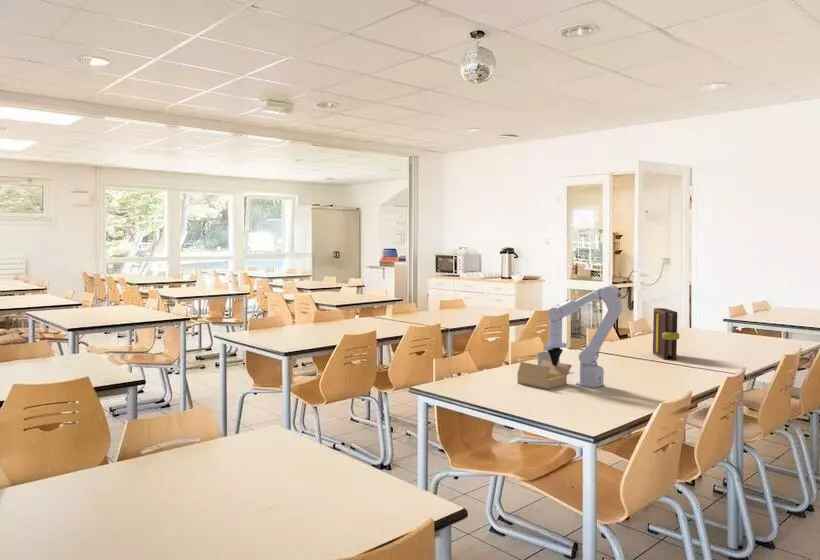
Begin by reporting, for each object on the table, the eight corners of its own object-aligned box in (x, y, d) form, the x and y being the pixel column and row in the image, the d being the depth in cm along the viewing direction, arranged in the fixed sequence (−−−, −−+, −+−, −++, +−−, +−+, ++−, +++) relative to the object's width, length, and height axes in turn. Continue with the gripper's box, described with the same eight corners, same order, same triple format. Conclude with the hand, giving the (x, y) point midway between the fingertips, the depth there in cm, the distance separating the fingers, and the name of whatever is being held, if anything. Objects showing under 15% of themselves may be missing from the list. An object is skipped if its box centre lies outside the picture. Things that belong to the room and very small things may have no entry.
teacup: (553, 372, 297) (553, 355, 297) (532, 369, 304) (532, 353, 303) (565, 367, 308) (566, 351, 308) (545, 365, 315) (545, 349, 314)
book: (649, 353, 348) (650, 308, 347) (665, 353, 348) (666, 308, 346) (664, 360, 326) (665, 312, 325) (680, 360, 326) (681, 312, 324)
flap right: (566, 375, 271) (566, 376, 271) (571, 364, 273) (571, 365, 274) (537, 370, 283) (538, 370, 283) (542, 359, 285) (543, 360, 285)
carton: (566, 384, 271) (566, 375, 271) (547, 389, 262) (547, 380, 262) (536, 378, 283) (536, 369, 283) (517, 383, 274) (517, 374, 274)
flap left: (517, 374, 273) (517, 373, 273) (521, 362, 275) (520, 361, 274) (546, 380, 262) (546, 379, 262) (550, 367, 263) (549, 367, 263)
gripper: (557, 332, 285) (556, 361, 286) (537, 335, 276) (537, 365, 277) (570, 333, 280) (570, 364, 281) (551, 336, 270) (550, 368, 271)
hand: (554, 365), depth 278 cm, fingers closed, pressing on flap right
